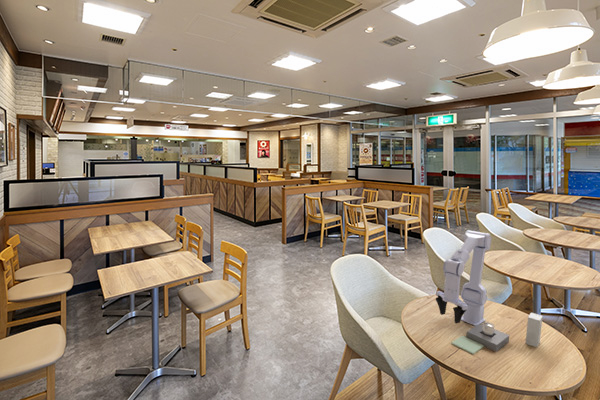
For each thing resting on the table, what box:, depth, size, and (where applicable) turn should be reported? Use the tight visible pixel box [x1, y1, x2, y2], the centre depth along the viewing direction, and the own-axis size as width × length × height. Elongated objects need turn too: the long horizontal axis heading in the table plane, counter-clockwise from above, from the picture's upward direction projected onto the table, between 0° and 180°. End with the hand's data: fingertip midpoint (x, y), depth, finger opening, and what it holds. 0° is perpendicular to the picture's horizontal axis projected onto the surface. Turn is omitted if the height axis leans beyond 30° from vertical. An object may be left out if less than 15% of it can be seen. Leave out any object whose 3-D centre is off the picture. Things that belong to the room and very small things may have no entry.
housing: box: [465, 323, 510, 352], centre depth 135 cm, size 12×12×3 cm
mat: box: [451, 335, 485, 355], centre depth 131 cm, size 9×9×1 cm
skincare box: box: [525, 312, 543, 348], centre depth 132 cm, size 6×4×12 cm
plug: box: [482, 321, 495, 338], centre depth 135 cm, size 4×4×7 cm
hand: (449, 318), depth 134 cm, fingers open, 7 cm apart
